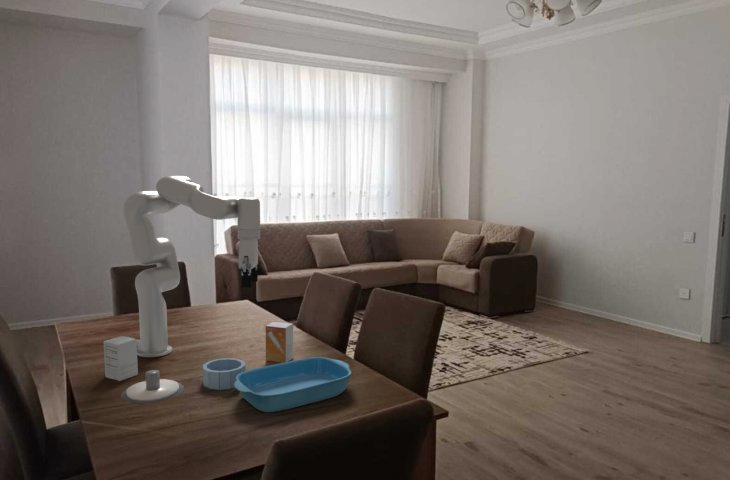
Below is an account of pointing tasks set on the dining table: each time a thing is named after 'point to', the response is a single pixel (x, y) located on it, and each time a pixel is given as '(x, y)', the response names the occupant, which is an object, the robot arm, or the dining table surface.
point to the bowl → (222, 373)
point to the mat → (154, 400)
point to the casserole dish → (293, 383)
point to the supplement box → (120, 358)
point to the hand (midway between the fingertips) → (249, 284)
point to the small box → (279, 342)
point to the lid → (152, 388)
